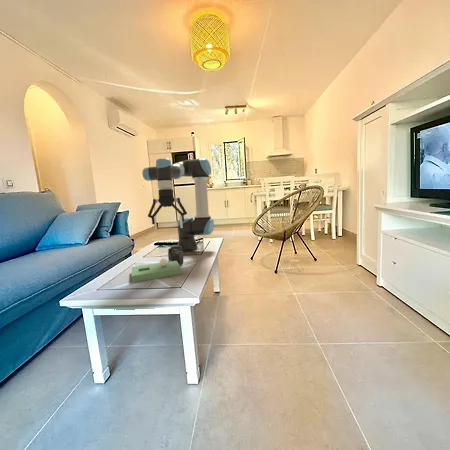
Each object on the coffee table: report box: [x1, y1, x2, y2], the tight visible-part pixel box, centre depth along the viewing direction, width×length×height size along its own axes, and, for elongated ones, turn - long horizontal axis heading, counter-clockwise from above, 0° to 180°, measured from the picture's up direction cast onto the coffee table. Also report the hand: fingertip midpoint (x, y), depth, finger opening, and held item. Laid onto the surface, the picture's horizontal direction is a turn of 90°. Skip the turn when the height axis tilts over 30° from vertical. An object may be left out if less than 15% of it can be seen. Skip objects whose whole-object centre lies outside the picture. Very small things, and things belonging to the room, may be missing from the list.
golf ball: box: [159, 258, 168, 267], centre depth 129 cm, size 4×4×4 cm
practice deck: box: [131, 260, 183, 283], centre depth 128 cm, size 24×17×3 cm
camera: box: [167, 245, 185, 265], centre depth 148 cm, size 13×10×10 cm
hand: (168, 229), depth 130 cm, fingers open, 13 cm apart
